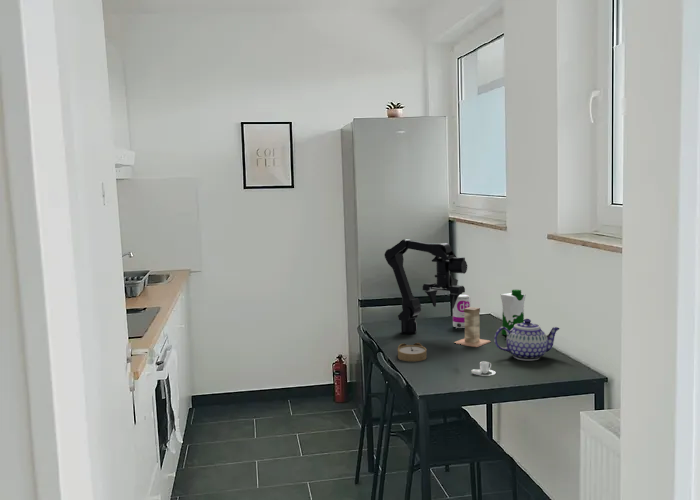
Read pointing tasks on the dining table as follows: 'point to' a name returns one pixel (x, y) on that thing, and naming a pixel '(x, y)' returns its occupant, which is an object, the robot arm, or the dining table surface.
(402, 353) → the alarm clock
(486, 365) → the teacup and saucer
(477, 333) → the ash post
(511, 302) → the milk carton
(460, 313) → the supplement can
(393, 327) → the dining table surface
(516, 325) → the teapot
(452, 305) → the robot arm
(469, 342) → the terracotta tile
